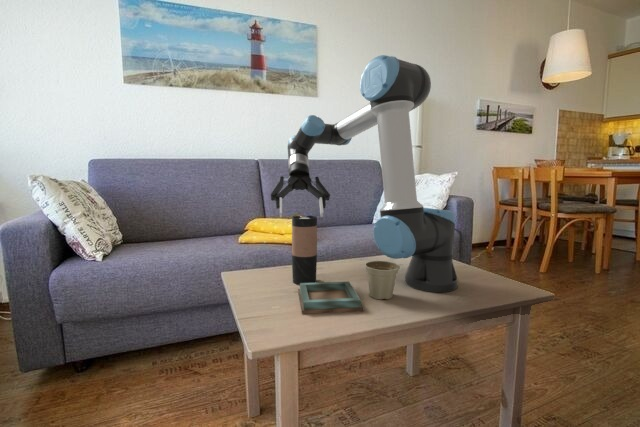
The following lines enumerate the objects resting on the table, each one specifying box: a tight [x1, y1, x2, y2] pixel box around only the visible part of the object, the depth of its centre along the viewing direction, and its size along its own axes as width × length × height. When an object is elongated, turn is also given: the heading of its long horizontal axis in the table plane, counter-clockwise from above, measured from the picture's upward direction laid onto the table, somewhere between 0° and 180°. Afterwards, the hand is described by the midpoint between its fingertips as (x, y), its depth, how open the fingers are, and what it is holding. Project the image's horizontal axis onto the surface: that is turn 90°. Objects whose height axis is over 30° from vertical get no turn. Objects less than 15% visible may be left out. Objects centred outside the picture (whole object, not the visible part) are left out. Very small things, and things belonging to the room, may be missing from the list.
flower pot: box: [364, 260, 401, 300], centre depth 92 cm, size 9×9×9 cm
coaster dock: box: [297, 281, 364, 315], centre depth 89 cm, size 15×15×3 cm
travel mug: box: [291, 215, 318, 286], centre depth 103 cm, size 8×8×20 cm
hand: (301, 215), depth 112 cm, fingers open, 13 cm apart
